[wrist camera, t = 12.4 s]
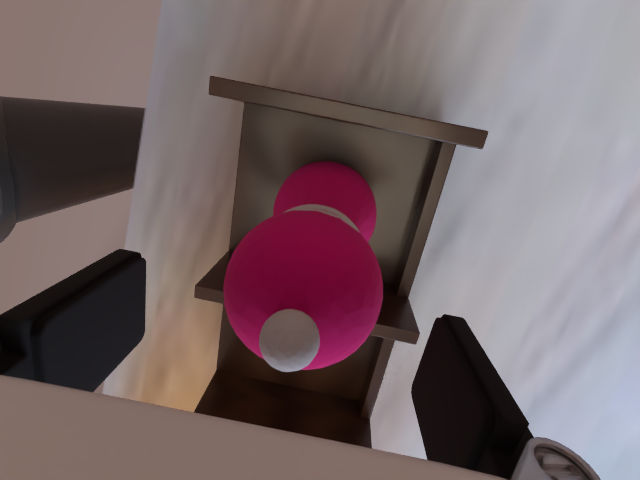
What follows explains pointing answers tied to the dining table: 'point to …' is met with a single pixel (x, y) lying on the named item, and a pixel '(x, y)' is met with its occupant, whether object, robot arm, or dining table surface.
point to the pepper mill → (308, 272)
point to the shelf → (386, 242)
